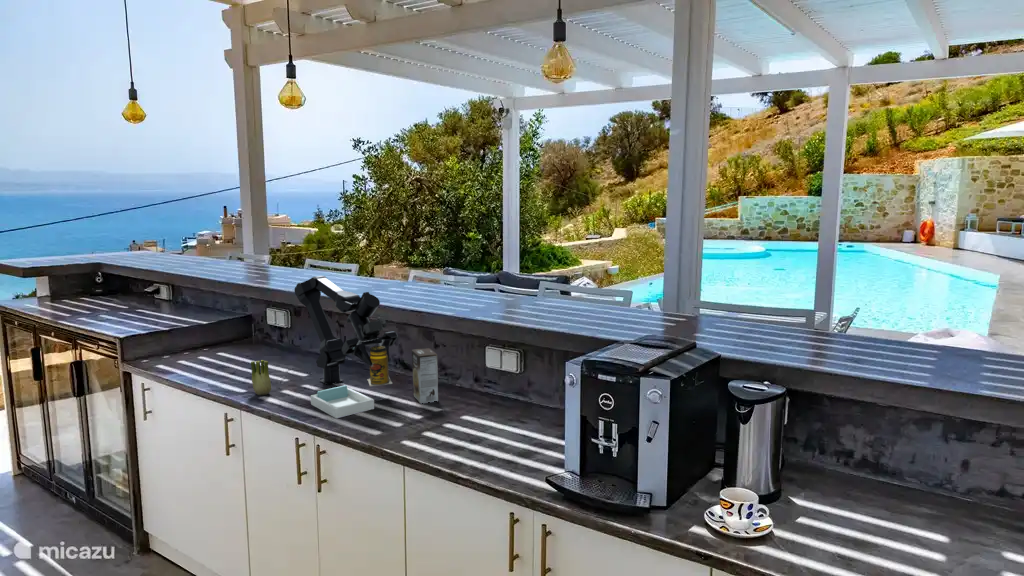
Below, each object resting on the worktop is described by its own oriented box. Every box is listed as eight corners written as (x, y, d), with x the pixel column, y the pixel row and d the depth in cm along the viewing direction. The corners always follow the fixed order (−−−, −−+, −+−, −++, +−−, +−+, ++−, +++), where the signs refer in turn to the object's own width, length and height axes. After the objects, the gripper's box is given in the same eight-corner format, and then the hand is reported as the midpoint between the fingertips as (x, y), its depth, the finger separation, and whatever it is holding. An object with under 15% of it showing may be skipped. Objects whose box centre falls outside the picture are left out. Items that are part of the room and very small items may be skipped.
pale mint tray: (309, 403, 212) (309, 394, 211) (346, 395, 220) (345, 386, 220) (336, 418, 197) (335, 408, 197) (374, 408, 206) (373, 399, 205)
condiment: (370, 386, 211) (368, 350, 209) (367, 379, 219) (365, 344, 217) (392, 384, 213) (391, 348, 211) (389, 377, 221) (387, 343, 219)
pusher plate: (317, 402, 210) (317, 391, 210) (346, 395, 217) (345, 385, 216) (319, 403, 210) (318, 392, 209) (347, 396, 216) (347, 385, 215)
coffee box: (412, 396, 218) (410, 349, 216) (431, 393, 220) (429, 347, 218) (419, 404, 210) (418, 355, 207) (439, 401, 212) (437, 353, 210)
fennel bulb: (251, 395, 222) (248, 361, 220) (262, 391, 226) (260, 357, 224) (263, 397, 219) (260, 363, 217) (274, 393, 223) (272, 359, 221)
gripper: (343, 315, 209) (362, 355, 202) (394, 307, 221) (413, 345, 214) (334, 335, 216) (351, 374, 209) (383, 326, 228) (401, 363, 221)
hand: (380, 363), depth 213 cm, fingers closed on condiment, 6 cm apart
